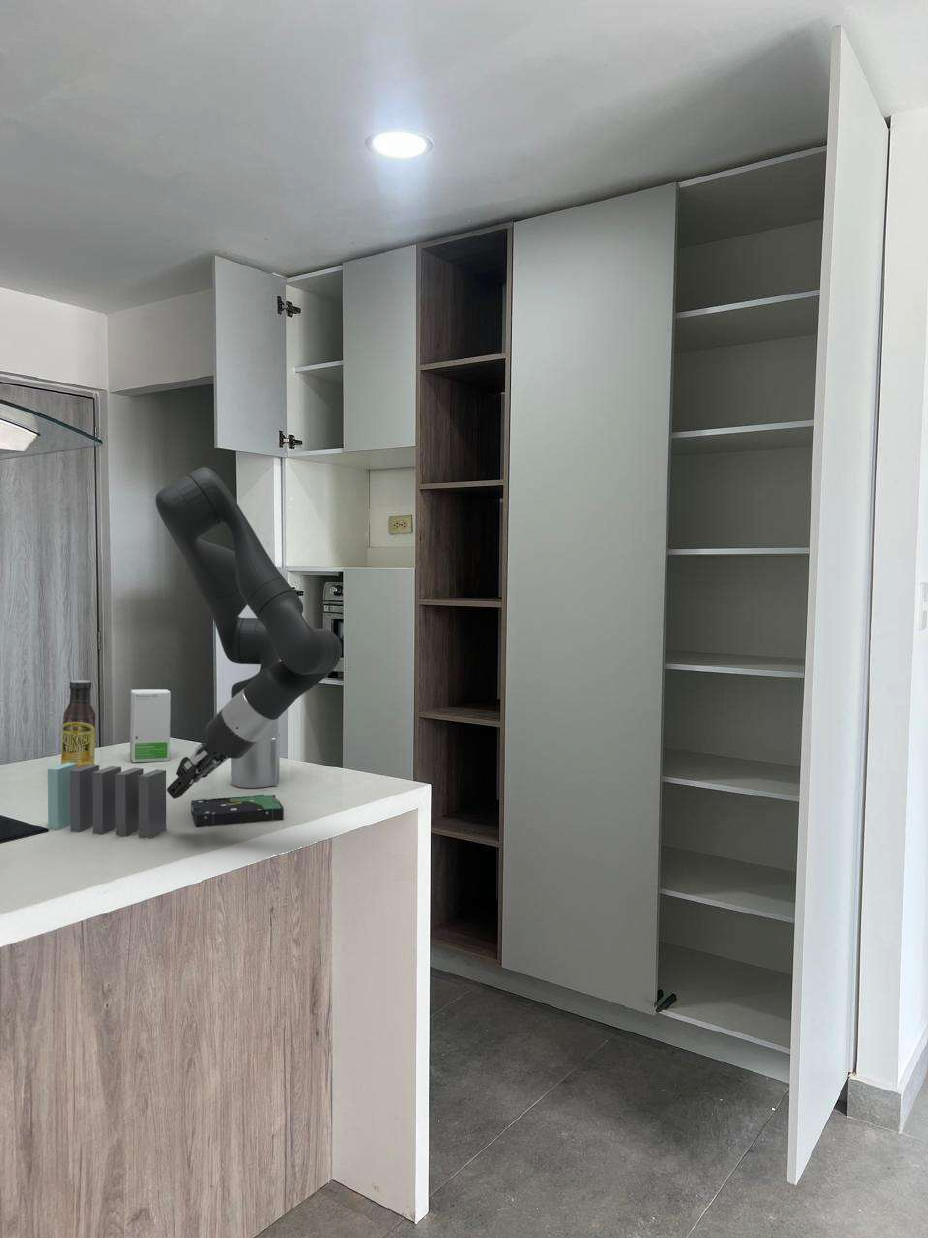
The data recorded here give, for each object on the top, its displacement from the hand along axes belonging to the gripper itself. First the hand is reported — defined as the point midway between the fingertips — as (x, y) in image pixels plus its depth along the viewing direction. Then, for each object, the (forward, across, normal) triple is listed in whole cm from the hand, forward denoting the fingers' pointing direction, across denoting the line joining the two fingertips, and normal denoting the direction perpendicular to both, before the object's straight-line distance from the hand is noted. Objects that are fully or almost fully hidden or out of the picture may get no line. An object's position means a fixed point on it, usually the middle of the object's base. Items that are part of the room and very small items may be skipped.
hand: (172, 793), depth 146 cm
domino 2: (+16, 0, +7) cm, 18 cm away
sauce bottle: (+33, +30, +23) cm, 50 cm away
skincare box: (+31, +50, +21) cm, 63 cm away
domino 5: (+8, 0, -2) cm, 8 cm away
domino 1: (+19, 0, +10) cm, 22 cm away
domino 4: (+10, 0, +1) cm, 10 cm away
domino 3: (+13, 0, +4) cm, 14 cm away
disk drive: (+2, +14, -8) cm, 16 cm away
